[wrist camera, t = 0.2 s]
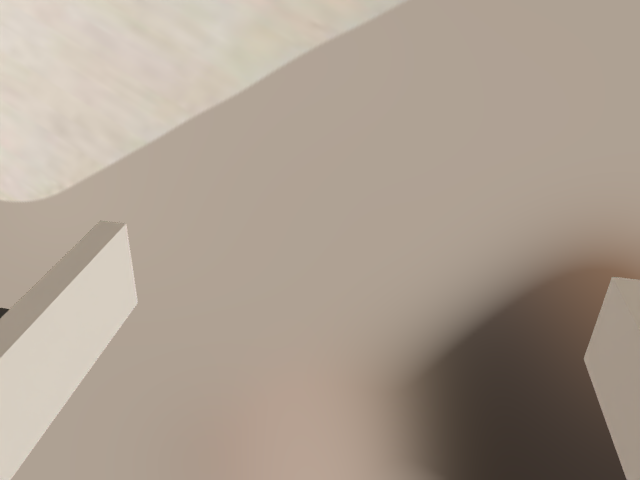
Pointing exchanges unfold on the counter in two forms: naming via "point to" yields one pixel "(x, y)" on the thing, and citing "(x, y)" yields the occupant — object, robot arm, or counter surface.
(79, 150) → the counter surface
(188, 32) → the counter surface
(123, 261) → the robot arm
